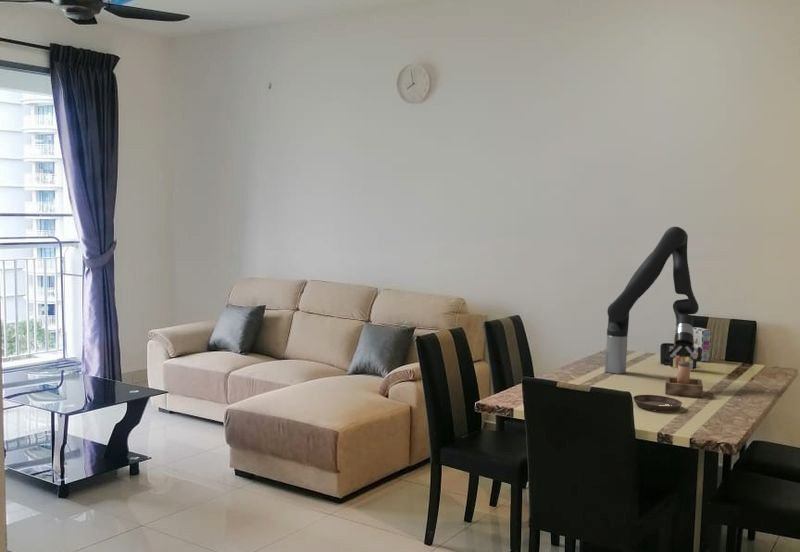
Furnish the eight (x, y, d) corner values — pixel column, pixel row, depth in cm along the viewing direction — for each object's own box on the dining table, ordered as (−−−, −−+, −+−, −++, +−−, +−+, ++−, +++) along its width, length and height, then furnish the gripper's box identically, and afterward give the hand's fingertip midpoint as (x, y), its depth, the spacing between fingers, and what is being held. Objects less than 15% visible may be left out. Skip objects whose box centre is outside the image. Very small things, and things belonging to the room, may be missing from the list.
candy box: (693, 370, 362) (695, 338, 361) (688, 371, 359) (689, 339, 358) (677, 367, 369) (679, 336, 368) (672, 368, 367) (673, 336, 366)
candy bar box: (710, 362, 386) (711, 330, 385) (700, 362, 386) (702, 330, 384) (699, 358, 397) (700, 327, 396) (690, 358, 397) (691, 327, 395)
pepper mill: (676, 391, 311) (678, 362, 310) (676, 388, 316) (678, 360, 315) (689, 392, 310) (690, 363, 309) (688, 389, 314) (690, 361, 313)
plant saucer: (677, 404, 294) (678, 396, 293) (685, 415, 276) (685, 407, 276) (630, 400, 297) (630, 392, 297) (634, 411, 280) (635, 403, 280)
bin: (665, 394, 308) (665, 383, 308) (665, 387, 322) (665, 376, 321) (702, 398, 304) (702, 386, 304) (700, 390, 317) (701, 379, 317)
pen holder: (655, 363, 379) (656, 343, 378) (669, 362, 383) (670, 342, 382) (669, 366, 370) (670, 346, 370) (683, 365, 374) (684, 345, 374)
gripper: (666, 329, 326) (664, 360, 316) (702, 332, 321) (701, 363, 311) (666, 340, 332) (664, 370, 322) (701, 343, 327) (700, 374, 317)
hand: (682, 367), depth 317 cm, fingers open, 8 cm apart
